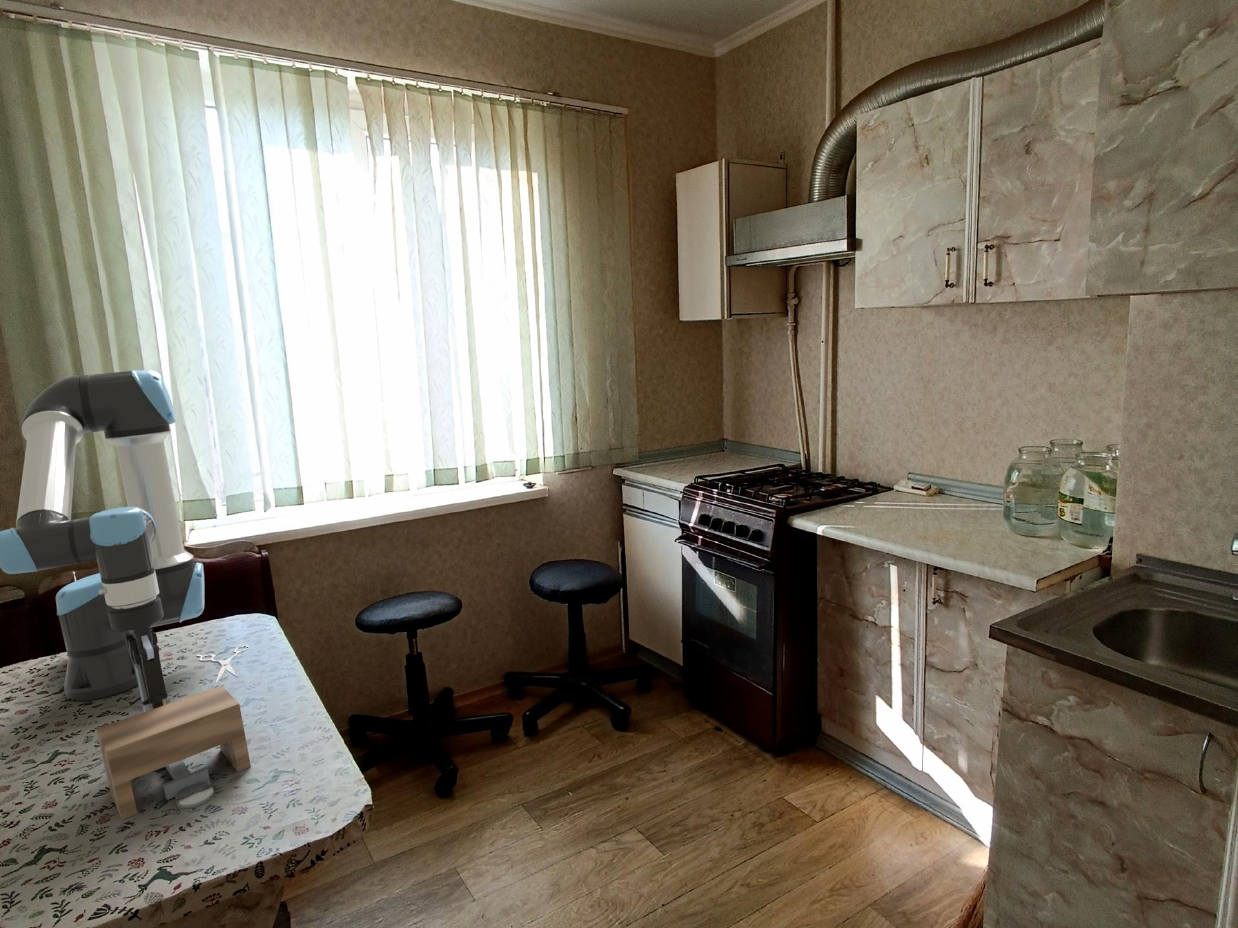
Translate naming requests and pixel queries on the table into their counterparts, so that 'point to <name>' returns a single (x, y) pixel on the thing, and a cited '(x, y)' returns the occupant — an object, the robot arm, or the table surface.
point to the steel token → (194, 795)
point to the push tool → (177, 769)
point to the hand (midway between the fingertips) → (160, 731)
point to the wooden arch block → (170, 740)
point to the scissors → (222, 662)
